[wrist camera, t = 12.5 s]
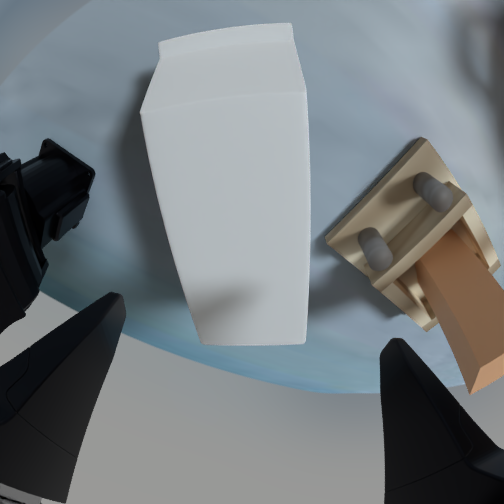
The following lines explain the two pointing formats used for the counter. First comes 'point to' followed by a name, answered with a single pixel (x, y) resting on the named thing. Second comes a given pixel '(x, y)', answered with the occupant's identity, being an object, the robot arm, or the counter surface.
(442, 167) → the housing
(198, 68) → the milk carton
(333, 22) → the counter surface
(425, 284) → the block
